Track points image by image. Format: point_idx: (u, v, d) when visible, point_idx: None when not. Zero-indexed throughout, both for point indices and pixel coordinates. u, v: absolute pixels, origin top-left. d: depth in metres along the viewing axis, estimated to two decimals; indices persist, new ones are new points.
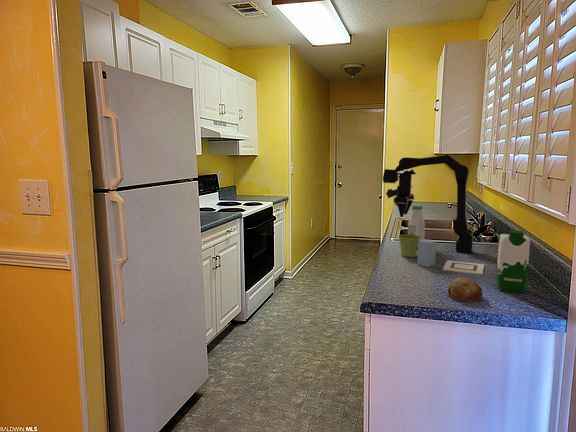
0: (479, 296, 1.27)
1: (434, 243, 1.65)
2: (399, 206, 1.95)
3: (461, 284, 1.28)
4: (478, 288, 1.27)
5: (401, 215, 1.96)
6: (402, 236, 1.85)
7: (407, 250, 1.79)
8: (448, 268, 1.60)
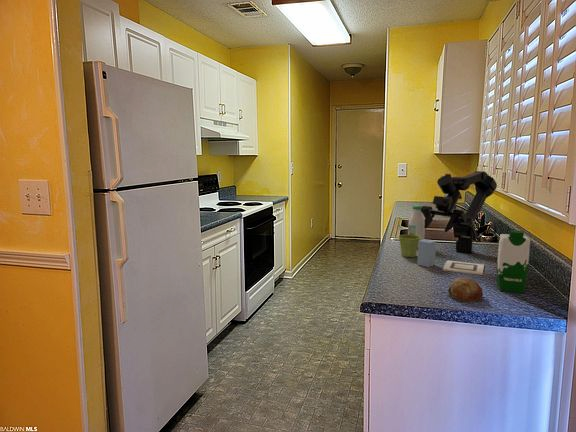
0: (479, 296, 1.27)
1: (434, 243, 1.65)
2: (453, 220, 1.69)
3: (462, 284, 1.28)
4: (478, 288, 1.27)
5: (447, 230, 1.68)
6: (402, 236, 1.85)
7: (407, 250, 1.79)
8: (448, 268, 1.60)
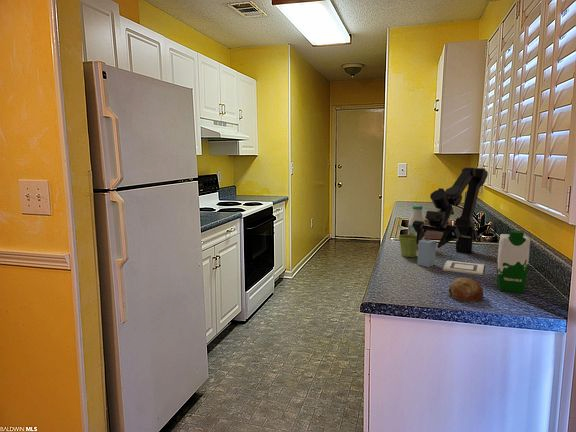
0: (480, 296, 1.27)
1: (434, 243, 1.65)
2: (446, 236, 1.64)
3: (462, 284, 1.28)
4: (479, 288, 1.27)
5: (439, 246, 1.63)
6: (402, 236, 1.85)
7: (407, 250, 1.79)
8: (448, 268, 1.60)
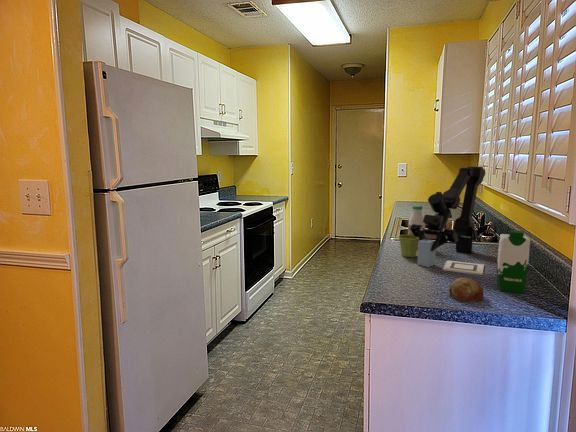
0: (480, 296, 1.27)
1: None
2: (439, 239, 1.64)
3: (462, 284, 1.28)
4: (479, 288, 1.28)
5: (433, 249, 1.64)
6: (402, 236, 1.85)
7: (407, 250, 1.79)
8: (448, 268, 1.60)
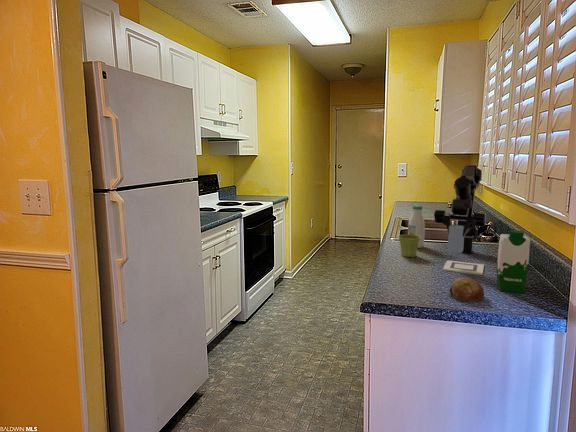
0: (481, 296, 1.27)
1: None
2: None
3: (463, 284, 1.28)
4: (480, 288, 1.28)
5: (464, 234, 1.59)
6: (402, 236, 1.85)
7: (407, 250, 1.79)
8: (448, 268, 1.60)
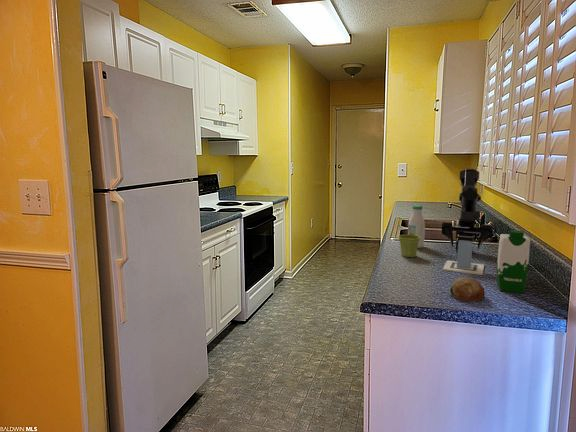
0: (481, 296, 1.27)
1: (472, 243, 1.62)
2: None
3: (464, 284, 1.28)
4: (480, 288, 1.28)
5: (479, 247, 1.59)
6: (402, 236, 1.85)
7: (407, 250, 1.79)
8: (448, 268, 1.60)
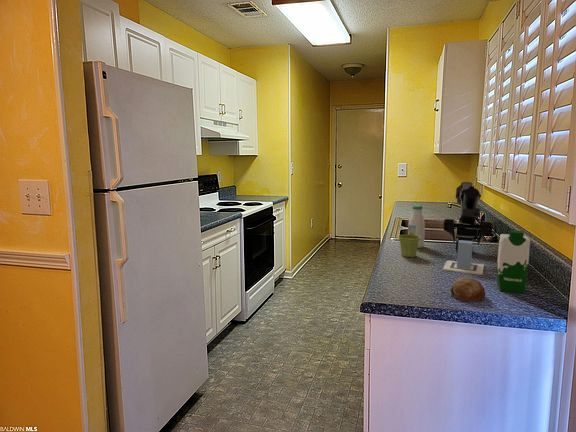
0: (482, 296, 1.27)
1: (472, 243, 1.62)
2: None
3: (464, 284, 1.28)
4: (481, 288, 1.28)
5: (479, 242, 1.67)
6: (402, 236, 1.85)
7: (407, 250, 1.79)
8: (448, 268, 1.60)
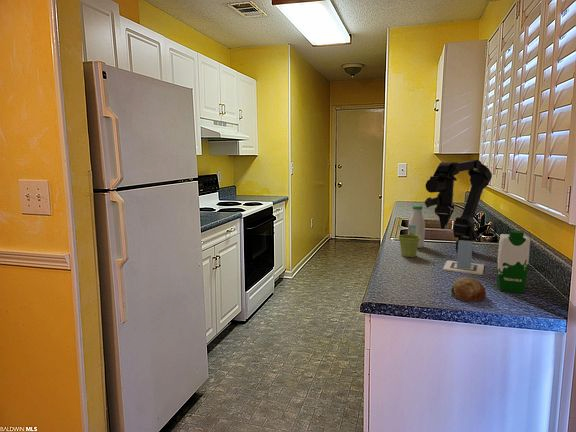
0: (482, 296, 1.27)
1: (472, 243, 1.62)
2: (440, 217, 1.74)
3: (465, 284, 1.28)
4: (481, 288, 1.28)
5: (442, 227, 1.75)
6: (402, 236, 1.85)
7: (407, 250, 1.79)
8: (448, 268, 1.60)
